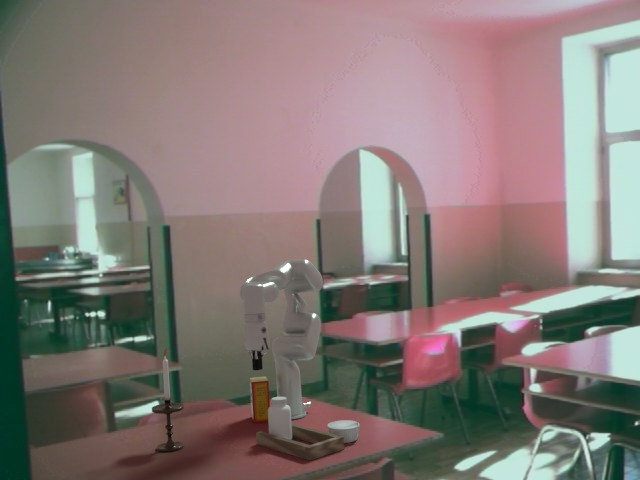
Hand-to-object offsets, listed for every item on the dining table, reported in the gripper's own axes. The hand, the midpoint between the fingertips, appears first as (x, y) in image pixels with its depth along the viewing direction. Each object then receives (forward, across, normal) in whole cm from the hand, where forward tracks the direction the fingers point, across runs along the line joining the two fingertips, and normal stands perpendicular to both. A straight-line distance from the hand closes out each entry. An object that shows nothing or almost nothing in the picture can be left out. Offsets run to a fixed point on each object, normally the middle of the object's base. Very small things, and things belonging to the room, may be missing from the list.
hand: (257, 369), depth 255 cm
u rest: (+24, -21, -1) cm, 32 cm away
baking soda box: (+24, +19, -14) cm, 34 cm away
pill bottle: (+24, -11, 0) cm, 26 cm away
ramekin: (+24, -27, -15) cm, 39 cm away
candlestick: (+24, +14, +28) cm, 40 cm away
